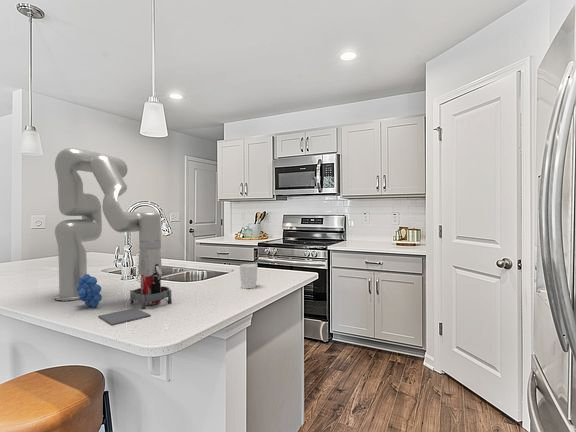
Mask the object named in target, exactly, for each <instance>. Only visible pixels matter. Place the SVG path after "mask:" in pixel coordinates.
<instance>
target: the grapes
mask: <svg viewBox="0 0 576 432" xmlns="http://www.w3.org/2000/svg"><path fill="white" fill-rule="evenodd" d="M78 283H79V284H80V285H79V286H78V287H77V291H78V294H79V296H80V299H79V300H80V301H81V302H84V306H86V307H87V308H91V307H93V308H97V307H98V306H99V304H100V302H101V301H102V298H103V295H102V294H101V293H100V292H101V291H102V286H101V285H100V284H98V279H97V277H95V276H91V275H90V274H89V273H87V274H85V275H84V276H83V277H81V278H80V279H79V281H78Z"/></svg>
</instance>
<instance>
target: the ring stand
mask: <svg viewBox="0 0 576 432" xmlns="http://www.w3.org/2000/svg"><path fill="white" fill-rule="evenodd" d="M129 292H130V293H129V294H130V295H129V298H130V299H129V300H130V301H129V303H130V305H135V304H134V303H135V302H139V303H141V302H142V303H141V310H146V305H145V302H148V301H157V300H161V301H162V300H164V299H167V304H168V305H169V304H172V302H173V301H172V289H170V287H168V286H162V285H161V292H160V293H155V294H141V287H139V288H136V289H131V290H130V291H129Z"/></svg>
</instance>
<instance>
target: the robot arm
mask: <svg viewBox="0 0 576 432" xmlns="http://www.w3.org/2000/svg"><path fill="white" fill-rule="evenodd" d="M54 168H55V169H54V170H55V175H56V179H57V191H58V192H57V193H58V210H59V212H60V214H62V215H64V216H66V217H67V216H68V217H81V218H79V219H78V218H73V219H66V220H62V221H59V223H58V224H56V226H55V228H54V236H55V239H56V244H57V251H58V256H57V257H58V294H56V295H55V296H54V300H55V299H56V300H55V301H57V300H62V301H61V302H68V301H69V300H70V301H77V300H80V296H79V294H78V291H77V287H78V286H79V285H80V284H79V283H78V281H79V279H80V278H81V277H83V276H84V275H85V274H88V271H87V269H88V267H87V260H88V259H87V252H86V250H87V249H85V246H84V245H83V243H84V242H85V243H86V242H92V241H96V240H97V239H99V238H100V237H101V235H102V231H103V230H102V229H103V227H102V226H103V222H102V221H103V220H102V217H103V215H104V217H105V219H106V221H107V223H108V225H109V226H110V228H111V229H112V230H114V231H115V232H117V233H120V234H121V233H122V234H123V233H132V232H133V233H135V232H138V240H139V241H138V242H139V243H138V245H139V246H138V247H139V249H138V250H139V253H138V267H137V269H138V271H137V272H138V274H139V276H140V277H141V276H142V275H144V276H146V277H150V276H151V281H152V284H151V294H155V293H160V283H161V282H162V277H163V272H162V269H163V268H162V255H161V249H162V231H161V230H162V229H161V227H162V225H161V222H162V221H161V219H162V218H161V214H160V213H159V212H142V211H141V212H140V211H123V208H122V207H121V205H120V203H119V199H118V198H119V197H120V196H122V195H123V194H125V193H126V192H127V189H128V185H127V184H126V182H125V180H124V179H123V178H124V177H126V176H127V174H128V171H129V169H128V165H127V163H126V162H125V161H124V160H123V159H121V158H120V157H114V156H111V155H107V154H103V153H100V152H95V151H90V150H87V149H86V150H85V149H81V148H75V147H72V148H64V149H61V150H60V151H59V152H58V154H57V155H56V157H55V160H54ZM78 171H79V172H86V173H87V172H88V173H92V174H93V177H95V179H96V181H97V183H98V185H99V187H100V189H101V191H102V192H103V195H104V197H103V198H102V204H101V201H100V199H99V197H97V196H96V195H95V194H92V193H84V183H83V180H82V178H81V176H80V174H79V173H78ZM102 213H103V215H102ZM143 273H144V274H143ZM153 274H157V275H153ZM154 277H156V278H155V279H154ZM160 280H161V281H160ZM161 284H162V283H161Z"/></svg>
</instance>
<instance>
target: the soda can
mask: <svg viewBox="0 0 576 432" xmlns="http://www.w3.org/2000/svg"><path fill="white" fill-rule="evenodd" d="M143 274H144V273H143ZM153 275H157V274H153ZM155 278H156V277H154V279H155ZM160 281H161V282H162V279H161V280H160ZM151 284H152V281H151V276H150V277H146V276H144V275H142V276H141V275H140V288H141V294H151ZM161 286H162V283H160V292H161ZM161 301H162V299H161V300H157V301H148V302H145V306H155V305H158V304H159V303H160V302H161ZM140 303H141V304H142V302H140Z"/></svg>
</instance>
